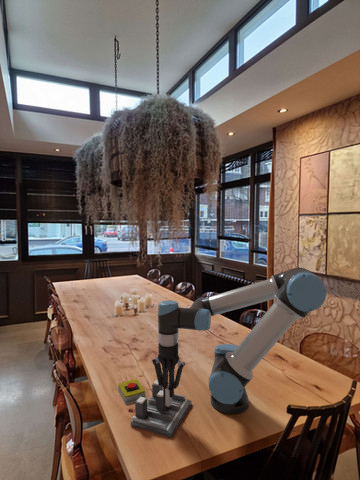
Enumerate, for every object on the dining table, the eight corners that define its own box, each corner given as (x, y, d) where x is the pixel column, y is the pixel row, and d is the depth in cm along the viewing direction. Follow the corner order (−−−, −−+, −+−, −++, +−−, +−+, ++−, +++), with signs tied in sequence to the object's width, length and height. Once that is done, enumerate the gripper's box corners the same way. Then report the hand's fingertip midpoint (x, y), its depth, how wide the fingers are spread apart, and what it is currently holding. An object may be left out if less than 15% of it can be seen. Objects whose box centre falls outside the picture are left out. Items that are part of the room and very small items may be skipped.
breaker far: (162, 396, 119) (162, 380, 118) (158, 400, 115) (158, 384, 115) (156, 394, 120) (156, 379, 120) (152, 399, 116) (152, 383, 116)
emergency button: (125, 395, 116) (116, 378, 129) (125, 406, 116) (116, 388, 129) (147, 389, 120) (135, 373, 133) (147, 399, 120) (136, 383, 133)
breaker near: (147, 415, 107) (147, 397, 106) (142, 421, 103) (142, 403, 103) (140, 413, 108) (140, 395, 108) (135, 419, 104) (135, 401, 104)
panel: (191, 404, 116) (191, 396, 116) (171, 437, 97) (171, 428, 97) (156, 395, 122) (156, 388, 122) (130, 425, 103) (130, 417, 103)
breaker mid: (167, 407, 111) (167, 391, 110) (163, 413, 107) (163, 396, 107) (160, 406, 112) (160, 389, 112) (156, 411, 108) (155, 394, 108)
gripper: (188, 341, 108) (188, 402, 109) (157, 336, 113) (157, 395, 114) (180, 349, 101) (181, 414, 102) (148, 343, 106) (148, 406, 107)
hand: (168, 404), depth 108 cm, fingers closed
